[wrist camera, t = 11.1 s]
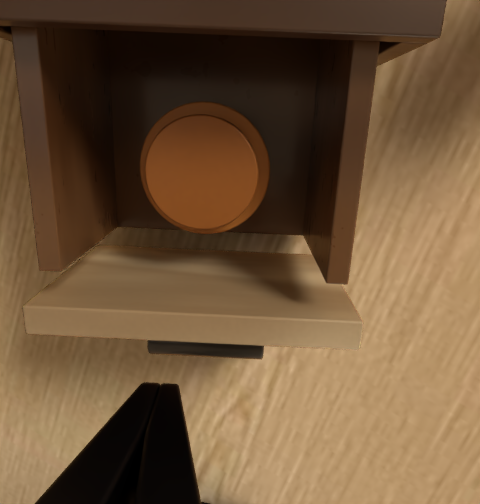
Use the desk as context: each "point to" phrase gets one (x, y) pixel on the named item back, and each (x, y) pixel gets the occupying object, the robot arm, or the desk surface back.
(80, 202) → the drawer
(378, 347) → the desk surface
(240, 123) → the stacked orange cylinders
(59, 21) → the cabinet
